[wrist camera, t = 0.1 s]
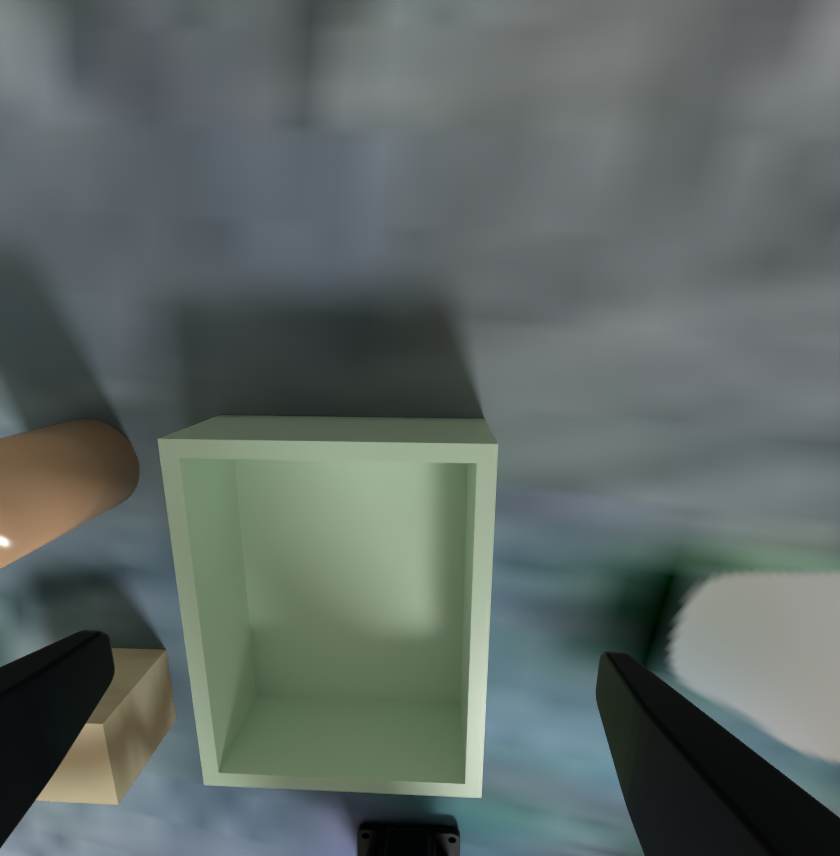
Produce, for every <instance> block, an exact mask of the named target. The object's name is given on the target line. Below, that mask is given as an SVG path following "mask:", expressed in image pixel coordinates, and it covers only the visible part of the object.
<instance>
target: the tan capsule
mask: <svg viewBox="0 0 840 856" xmlns="http://www.w3.org/2000/svg"><path fill="white" fill-rule="evenodd" d="M138 480H139V463H138V459H137V456H136V453H135V451H134V449H133V447H132V446H131V444H130V442H129V441H128V440H127V439H126V438H125V437H124V436H123V435H122V434H121V433H120V432H119V431H118V430H117V429H115V428H114V427H112V426H110V425H108V424H106V423H104V422H101V421H98V420H93V419H78V420H73V421H69V422H65V423H61V424H57V425H52V426H48V427H44V428H40V429H36V430H32V431H28V432H24V433H20V434H15V435H11V436H7V437H3V438H0V568H2V567H4V566H6V565H8V564H10V563H11V562H13V561H15V560H17V559H19V558H21V557H23V556H24V555H26V554H28V553H30V552H32V551H34V550H35V549H37V548H39V547H41V546H43V545H45V544H47V543H48V542H50V541H52V540H54V539H56V538H58V537H60V536H61V535H63V534H65V533H67V532H69V531H71V530H72V529H74V528H76V527H78V526H80V525H82V524H84V523H85V522H87V521H89V520H91V519H93V518H95V517H96V516H98V515H100V514H102V513H104V512H106V511H108V510H109V509H111V508H113V507H115V506H117V505H119V504H120V503H122V502H124V501H125V500H127V499H128V498H129V497H130V496H131V494H132V493H133V492H134V490H135V488H136V486H137V483H138Z"/></svg>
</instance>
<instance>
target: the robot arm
mask: <svg viewBox="0 0 840 856" xmlns="http://www.w3.org/2000/svg"><path fill="white" fill-rule="evenodd" d="M114 673H115V664H114V658H113V652H112V646H111V641H110V636H109V635H108V633H107V632H105V631H96V630H84V631H80V632H77V633H75V634H73V635H71V636H68V637H66V638H64V639H62V640H60V641H57V642H55V643H53V644H51V645H48V646H46V647H44V648H42V649H40V650H37V651H35V652H33V653H31V654H28V655H26V656H24V657H22V658H20V659H17V660H15V661H13V662H11V663H8V664H6V665H4V666H2V667H0V848H1V847H2V845H3V844H4V843H5V841H6V840H7V838H8V837H9V836H10V834H11V833H12V832H13V830H14V829H15V827H16V826H17V825H18V823H19V822H20V821H21V819H22V818H23V817H24V815H25V814H26V812H27V811H28V810H29V808H30V807H31V806H32V804H33V803H34V801H35V800H36V799H37V797H38V796H39V795H40V793H41V792H42V790H43V789H44V788H45V786H46V785H47V783H48V782H49V780H50V779H51V778H52V776H53V775H54V773H55V772H56V770H57V769H58V767H59V765H60V764H61V762H62V761H63V759H64V758H65V756H66V755H67V753H68V751H69V750H70V748H71V747H72V745H73V743H74V742H75V740H76V739H77V737H78V735H79V734H80V732H81V731H82V729H83V727H84V726H85V724H86V723H87V721H88V719H89V718H90V716H91V715H92V713H93V711H94V710H95V708H96V707H97V705H98V703H99V702H100V700H101V699H102V697H103V695H104V694H105V692H106V691H107V689H108V687H109V686H110V684H111V682H112V680H113V677H114ZM596 700H597V705H598V709H599V713H600V716H601V720H602V723H603V727H604V730H605V734H606V737H607V741H608V744H609V748H610V751H611V755H612V758H613V762H614V765H615V769H616V772H617V776H618V779H619V783H620V786H621V790H622V793H623V796H624V800H625V803H626V806H627V809H628V812H629V815H630V817H631V820H632V823H633V826H634V828H635V831H636V834H637V836H638V839H639V841H640V844H641V847H642V849H643V852H644V854H645V856H840V818H839V817H838V816H837V815H836V814H834V813H833V812H832V811H830V810H829V809H828V808H827V807H825V806H824V805H823V804H821V803H820V802H819V801H818V800H816V799H815V798H814V797H812V796H811V795H810V794H808V793H807V792H806V791H805V790H803V789H802V788H801V787H799V786H798V785H797V784H796V783H794V782H793V781H792V780H790V779H789V778H788V777H787V776H785V775H784V774H783V773H781V772H780V771H779V770H778V769H776V768H775V767H774V766H772V765H771V764H770V763H768V762H767V761H766V760H765V759H763V758H762V757H761V756H759V755H758V754H757V753H756V752H754V751H753V750H752V749H750V748H749V747H748V746H747V745H745V744H744V743H743V742H741V741H740V740H739V739H737V738H736V737H735V736H734V735H732V734H731V733H730V732H728V731H727V730H726V729H725V728H723V727H722V726H721V725H719V724H718V723H717V722H716V721H714V720H713V719H712V718H710V717H709V716H708V715H707V714H705V713H704V712H703V711H701V710H700V709H699V708H697V707H696V706H695V705H694V704H692V703H691V702H690V701H688V700H687V699H686V698H685V697H683V696H682V695H681V694H679V693H678V692H677V691H676V690H674V689H673V688H672V687H670V686H669V685H668V684H667V683H665V682H664V681H663V680H661V679H660V678H659V677H657V676H656V675H655V674H654V673H652V672H651V671H650V670H648V669H647V668H646V667H645V666H643V665H642V664H641V663H639V662H638V661H637V660H636V659H634V658H633V657H632V656H630V655H629V654H627V653H625V652H611V651H605V652H603V653H602V654H601V656H600V660H599V668H598V676H597V684H596ZM358 856H460V832H459V830H458V829H457V828H455V827H444V826H424V825H404V824H383V823H362V824H361V825H360V826H359V830H358Z"/></svg>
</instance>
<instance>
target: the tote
mask: <svg viewBox="0 0 840 856" xmlns="http://www.w3.org/2000/svg"><path fill="white" fill-rule="evenodd" d="M157 440H158V447H159V454H160V462H161V469H162V477H163V484H164V491H165V499H166V506H167V514H168V521H169V529H170V536H171V543H172V551H173V558H174V566H175V573H176V580H177V588H178V595H179V603H180V610H181V617H182V625H183V632H184V640H185V647H186V654H187V662H188V669H189V677H190V684H191V692H192V699H193V706H194V714H195V721H196V729H197V736H198V743H199V751H200V758H201V766H202V773H203V780H204V785H212V786H234V787H255V788H277V789H298V790H320V791H341V792H363V793H384V794H406V795H427V796H449V797H470V798H481V795H482V774H483V753H484V732H485V711H486V689H487V668H488V647H489V626H490V605H491V584H492V562H493V541H494V520H495V499H496V478H497V457H498V443H497V441H496V439H495V437H494V436H493V434H492V432H491V430H490V428H489V426H488V424H487V423H486V421H485V419H483V418H406V417H329V416H252V415H218V416H216V417H213V418H211V419H208V420H205V421H203V422H200V423H197V424H195V425H192V426H190V427H187V428H184V429H182V430H179V431H177V432H174V433H171V434H169V435H166V436H163V437H161V438H158V439H157Z"/></svg>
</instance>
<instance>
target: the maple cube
mask: <svg viewBox="0 0 840 856" xmlns="http://www.w3.org/2000/svg"><path fill="white" fill-rule="evenodd" d="M112 652H113V658H114V664H115V673H114V677H113V680H112V682H111V684H110V686H109V687H108V689H107V691H106V692H105V694H104V695H103V697H102V699H101V700H100V702H99V703H98V705H97V707H96V708H95V710H94V711H93V713H92V715H91V716H90V718H89V719H88V721H87V723H86V724H85V726H84V727H83V729H82V731H81V732H80V734H79V735H78V737H77V739H76V740H75V742H74V743H73V745H72V747H71V748H70V750H69V751H68V753H67V755H66V756H65V758H64V759H63V761H62V762H61V764H60V765H59V767H58V769H57V770H56V772H55V773H54V775H53V776H52V778H51V779H50V780H49V782H48V783H47V785H46V786H45V788H44V789H43V790H42V792H41V793H40V795H39V796H38V797H37V799H36V800H35V801H55V802H74V803H94V804H113V805H118V804H119V803H120V802H121V800H122V799H123V797H124V796H125V794H126V793H127V791H128V790H129V788H130V787H131V785H132V784H133V782H134V781H135V779H136V778H137V776H138V775H139V773H140V772H141V770H142V769H143V767H144V766H145V765H146V763H147V762H148V760H149V759H150V757H151V756H152V754H153V753H154V751H155V750H156V748H157V747H158V745H159V744H160V742H161V741H162V739H163V738H164V736H165V735H166V733H167V732H168V731H169V729H170V728H171V726H172V725H173V723H174V722H175V720H176V713H175V707H174V700H173V693H172V686H171V679H170V673H169V666H168V659H167V652H166V650H159V649H130V648H112Z"/></svg>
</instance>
